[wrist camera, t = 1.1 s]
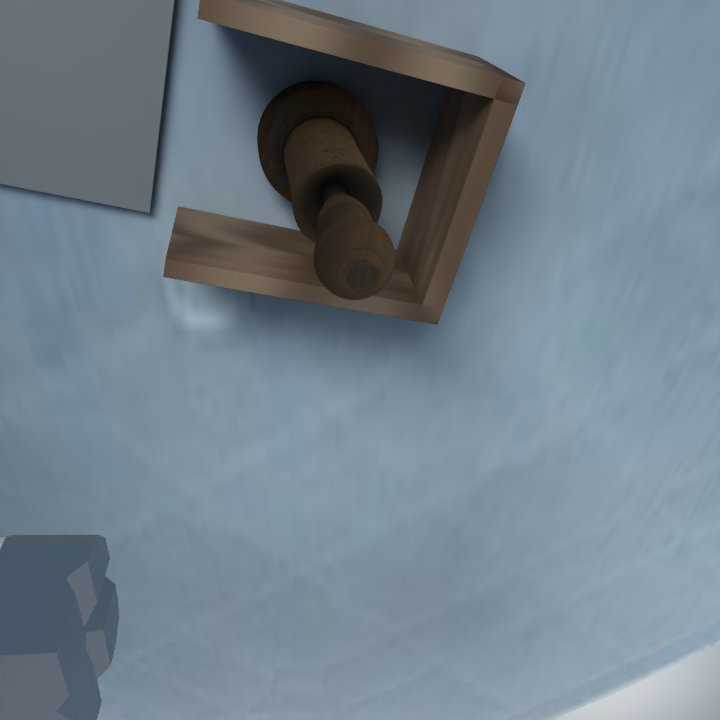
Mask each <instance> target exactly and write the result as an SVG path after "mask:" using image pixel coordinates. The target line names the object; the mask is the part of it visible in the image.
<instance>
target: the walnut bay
mask: <svg viewBox="0 0 720 720" xmlns="http://www.w3.org/2000/svg"><path fill="white" fill-rule="evenodd" d="M198 19H201V20H205V21H209V22H212V23H216V24H220V25H223V26H227V27H231V28H234V29H238V30H242V31H245V32H249V33H253V34H257V35H260V36H264V37H268V38H271V39H275V40H279V41H282V42H286V43H290V44H293V45H297V46H301V47H305V48H308V49H312V50H316V51H319V52H323V53H327V54H330V55H334V56H338V57H341V58H345V59H349V60H353V61H356V62H360V63H364V64H367V65H371V66H375V67H378V68H382V69H386V70H389V71H393V72H397V73H401V74H404V75H408V76H412V77H415V78H419V79H423V80H426V81H430V82H434V83H437V84H441V85H445V86H448V89H447V93H446V96H445V99H444V102H443V105H442V108H441V112H440V115H439V118H438V121H437V124H436V128H435V131H434V134H433V137H432V140H431V144H430V147H429V150H428V153H427V156H426V160H425V163H424V166H423V169H422V172H421V176H420V179H419V182H418V185H417V188H416V192H415V195H414V198H413V201H412V204H411V208H410V211H409V214H408V217H407V220H406V224H405V227H404V230H403V233H402V236H401V240H400V243H399V246H398V249H397V250H394V251H395V267H394V271H393V274H392V277H391V278H390V280H389V282H388V283H387V284H386V286H385V287H384V288H383V289H382V290H381V291H379V292H378V293H376V294H375V295H373V296H371V297H368V298H365V299H360V300H348V299H344V298H341V297H338V296H336V295H334V294H333V293H331V292H330V291H329V290H328V289H327V288H326V287H325V286H324V285H323V284H322V283H321V281H320V280H319V278H318V276H317V273H316V270H315V267H314V248H315V245H316V243H314V242H313V241H311V240H310V239H308V238H307V237H306V236H305V235H304V234H303V233H302V231H298V230H293V229H288V228H283V227H278V226H273V225H268V224H263V223H258V222H253V221H248V220H243V219H238V218H233V217H228V216H223V215H218V214H213V213H208V212H203V211H198V210H193V209H188V208H183V207H178V210H177V214H176V218H175V222H174V226H173V230H172V235H171V239H170V243H169V247H168V251H167V256H166V261H165V268H164V276H163V277H167V278H172V279H178V280H184V281H190V282H195V283H201V284H207V285H213V286H218V287H224V288H230V289H236V290H241V291H247V292H253V293H259V294H264V295H270V296H276V297H282V298H287V299H293V300H299V301H305V302H310V303H316V304H322V305H328V306H333V307H339V308H345V309H351V310H356V311H362V312H368V313H374V314H379V315H385V316H391V317H397V318H402V319H408V320H414V321H420V322H426V323H431V324H438V321H439V319H440V316H441V313H442V311H443V308H444V305H445V302H446V300H447V297H448V294H449V291H450V289H451V286H452V283H453V280H454V278H455V275H456V272H457V270H458V267H459V264H460V261H461V259H462V256H463V253H464V250H465V248H466V245H467V242H468V239H469V237H470V234H471V231H472V228H473V226H474V223H475V220H476V218H477V215H478V212H479V209H480V207H481V204H482V201H483V198H484V196H485V193H486V190H487V187H488V185H489V182H490V179H491V177H492V174H493V171H494V168H495V166H496V163H497V160H498V157H499V155H500V152H501V149H502V146H503V144H504V141H505V138H506V136H507V133H508V130H509V127H510V125H511V122H512V119H513V116H514V114H515V111H516V108H517V105H518V103H519V100H520V97H521V94H522V92H523V89H524V86H525V84H526V83H524V82H522V81H521V80H519V79H517V78H515V77H514V76H512V75H510V74H508V73H506V72H505V71H503V70H501V69H499V68H498V67H496V66H494V65H492V64H490V63H489V62H487V61H485V60H483V59H482V58H480V57H477V56H473V55H470V54H466V53H463V52H459V51H456V50H452V49H449V48H445V47H442V46H439V45H435V44H432V43H428V42H425V41H421V40H418V39H414V38H411V37H407V36H404V35H400V34H397V33H393V32H390V31H386V30H383V29H379V28H376V27H372V26H369V25H365V24H362V23H358V22H355V21H351V20H348V19H344V18H341V17H337V16H334V15H330V14H327V13H323V12H320V11H316V10H313V9H309V8H306V7H302V6H299V5H295V4H292V3H288V2H285V1H281V0H200V4H199V12H198Z"/></svg>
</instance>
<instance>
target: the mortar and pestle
mask: <svg viewBox="0 0 720 720" xmlns="http://www.w3.org/2000/svg"><path fill="white" fill-rule="evenodd" d="M257 142H258V151H259V158H260V162H261V166H262V169H263V171H264V173H265V175H266V177H267V179H268V181H269V182H270V183H271V185H272V186H273V187H274V188H275V189H276V190H277V191H278V192H279V193H280V194H281V195H282V196H284V197H285V198H287V199H288V200H290V201H292V205H293V212H294V217H295V220H296V223H297V225H298V227H299V229H300V230H301V231H302V233H303V234H304V235H305V236H306V237H307V238H308V239H310V240H311V241H313V242H314V243H316V245H315V248H314V267H315V270H316V273H317V276H318V278H319V280H320V281H321V283H322V284H323V285H324V286H325V287H326V288H327V289H328V290H329V291H330V292H331V293H333V294H334V295H336V296H338V297H341V298H344V299H348V300H360V299H365V298H368V297H371V296H373V295H375V294H376V293H378V292H379V291H381V290H382V289H383V288H384V287H385V286H386V284H387V283H388V282H389V280H390V278H391V277H392V274H393V271H394V267H395V251H394V247H393V244H392V241H391V239H390V237H389V236H388V234H387V233H386V232H385V231H384V230H383V229H382V228H381V227H380V226H379V225H378V224H376V223H377V222H378V219H379V217H380V214H381V210H382V193H381V190H380V187H379V185H378V182H377V181H376V179H375V177H374V175H373V172H374V170H375V167H376V163H377V158H378V140H377V135H376V132H375V129H374V126H373V124H372V122H371V120H370V118H369V116H368V115H367V113H366V111H365V110H364V108H363V107H362V106H361V104H360V103H359V102H358V101H357V100H356V99H355V98H354V97H353V96H352V95H351V94H350V93H348V92H347V91H345V90H344V89H342V88H340V87H338V86H336V85H333V84H330V83H326V82H321V81H307V82H302V83H298V84H295V85H292V86H290V87H288V88H286V89H285V90H283V91H282V92H280V93H279V94H278V95H277V96H276V97H274V99H273V100H272V101H271V102H270V103H269V105H268V106H267V107H266V109H265V111H264V113H263V115H262V117H261V120H260V123H259V127H258V136H257Z"/></svg>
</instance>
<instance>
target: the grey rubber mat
mask: <svg viewBox="0 0 720 720" xmlns="http://www.w3.org/2000/svg"><path fill="white" fill-rule="evenodd" d="M174 5H175V0H0V184H4V185H9V186H14V187H20V188H25V189H30V190H35V191H40V192H45V193H50V194H55V195H60V196H65V197H71V198H76V199H81V200H86V201H91V202H96V203H101V204H106V205H111V206H116V207H122V208H127V209H132V210H137V211H142V212H147V213H150V210H151V203H152V194H153V186H154V177H155V169H156V160H157V151H158V143H159V134H160V126H161V117H162V108H163V100H164V91H165V83H166V74H167V65H168V57H169V48H170V40H171V31H172V22H173V14H174Z"/></svg>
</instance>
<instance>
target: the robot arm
mask: <svg viewBox="0 0 720 720" xmlns="http://www.w3.org/2000/svg"><path fill="white" fill-rule="evenodd" d="M109 560H110V556H109V552H108V547H107V543H106V539H105V537H102V536H100V535H20V536H6V537H0V720H97V718H98V714H99V710H100V706H101V702H102V701H101V697H100V692H99V688H98V683H97V679H98V678H99V677H100V676H101V675H102V674H103V673H104V672H105V671H106V670H107V669H108V668H109V667H110V666H111V662H112V657H113V653H114V649H115V645H116V637H117V628H118V618H119V615H118V597H117V592H116V586H115V584H114V583H113V582H112V581H110V580H109V579H108V578H107V577H105V574H106V570H107V567H108V563H109Z"/></svg>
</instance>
